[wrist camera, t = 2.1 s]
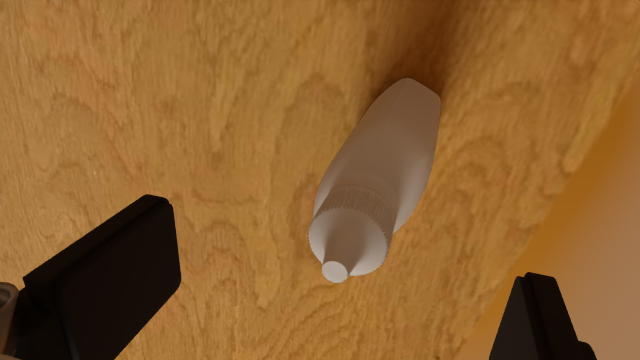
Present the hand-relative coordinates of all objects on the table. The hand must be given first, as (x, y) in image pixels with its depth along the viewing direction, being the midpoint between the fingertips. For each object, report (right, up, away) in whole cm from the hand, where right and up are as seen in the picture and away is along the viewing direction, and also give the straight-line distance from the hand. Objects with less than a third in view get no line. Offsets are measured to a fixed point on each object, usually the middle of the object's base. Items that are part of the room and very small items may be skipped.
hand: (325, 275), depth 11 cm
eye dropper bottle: (+4, +5, +10) cm, 12 cm away
